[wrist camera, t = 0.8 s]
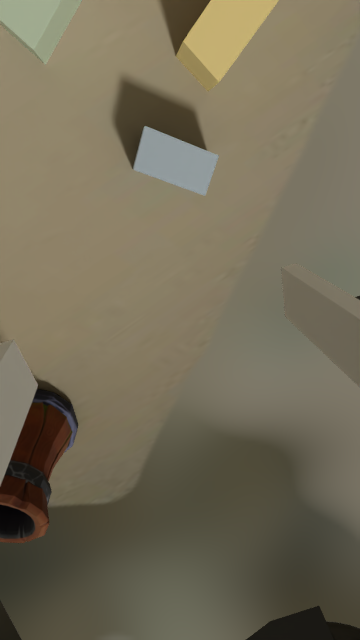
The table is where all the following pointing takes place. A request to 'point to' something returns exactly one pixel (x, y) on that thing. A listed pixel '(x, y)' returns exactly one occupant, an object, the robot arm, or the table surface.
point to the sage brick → (37, 23)
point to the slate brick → (174, 161)
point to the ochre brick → (221, 37)
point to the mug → (35, 467)
